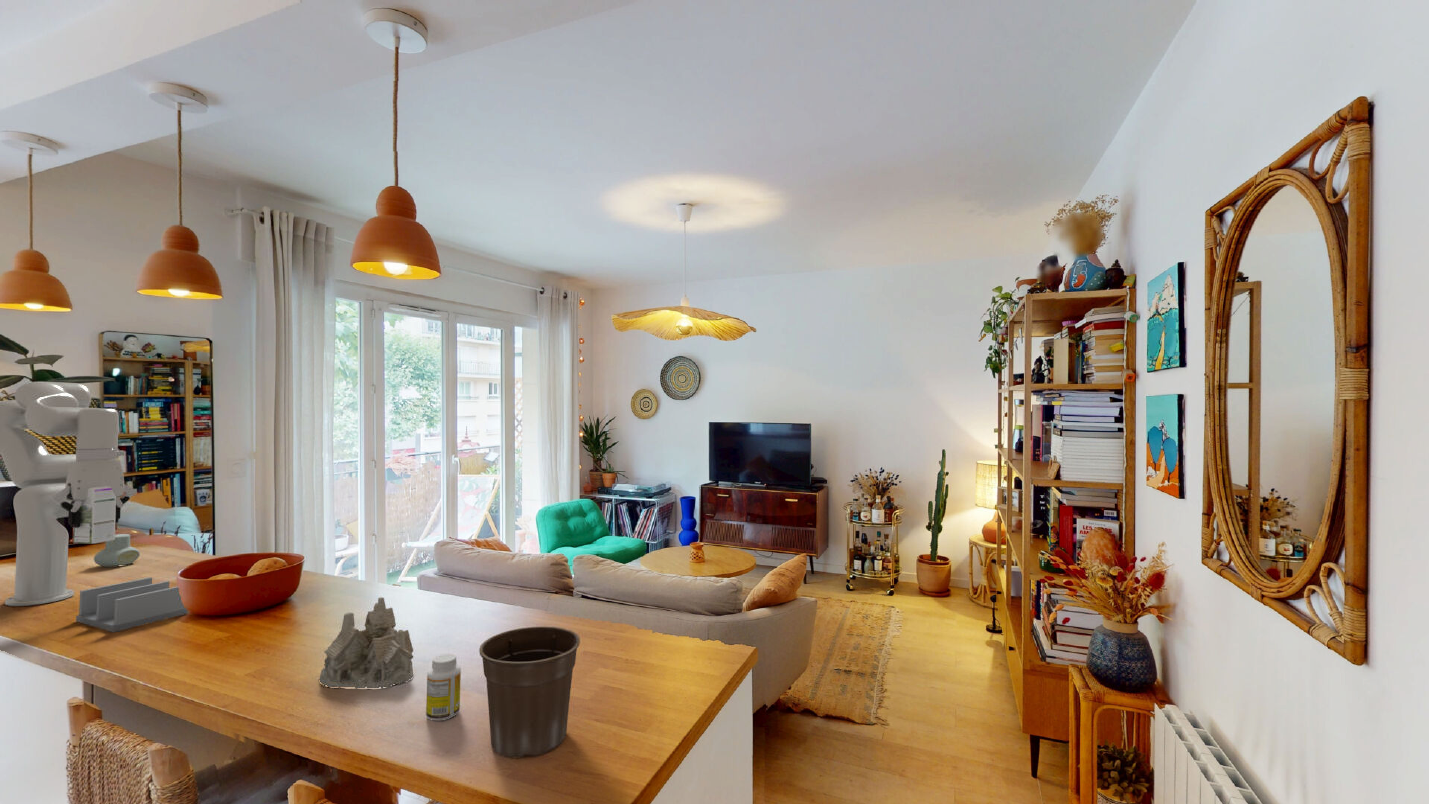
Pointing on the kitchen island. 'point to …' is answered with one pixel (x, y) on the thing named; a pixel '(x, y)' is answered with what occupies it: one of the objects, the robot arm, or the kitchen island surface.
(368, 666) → the ceramic cottage
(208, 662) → the kitchen island surface
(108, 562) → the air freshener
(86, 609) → the slot rack
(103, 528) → the syrup box
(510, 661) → the plant pot
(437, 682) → the supplement bottle
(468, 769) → the kitchen island surface
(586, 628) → the kitchen island surface
